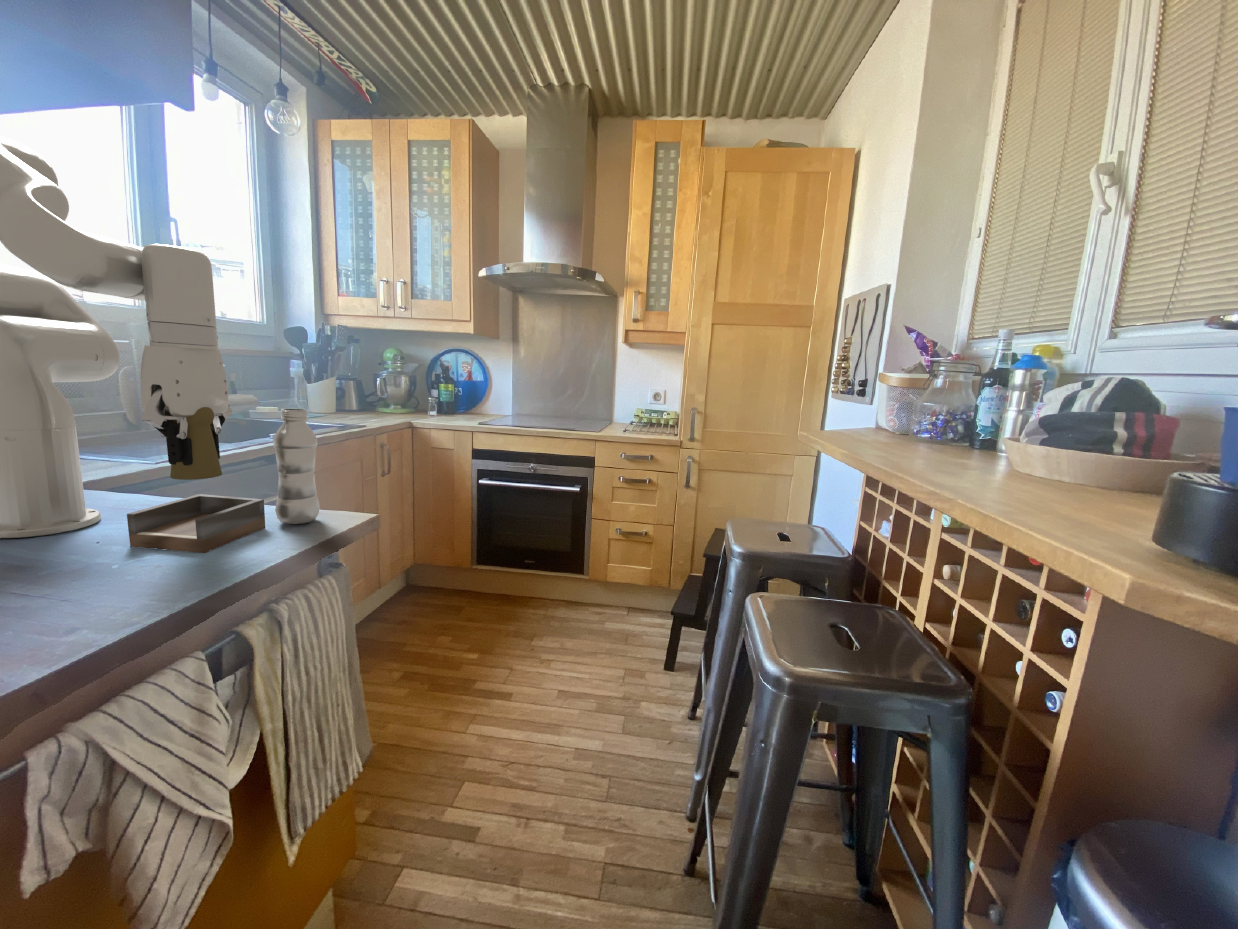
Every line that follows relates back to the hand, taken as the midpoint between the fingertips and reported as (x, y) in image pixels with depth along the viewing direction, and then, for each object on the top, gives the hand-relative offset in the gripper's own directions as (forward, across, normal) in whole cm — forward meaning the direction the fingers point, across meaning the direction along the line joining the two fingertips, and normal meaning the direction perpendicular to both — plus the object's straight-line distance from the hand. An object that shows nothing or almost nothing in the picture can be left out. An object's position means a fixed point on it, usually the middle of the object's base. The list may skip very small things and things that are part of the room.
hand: (195, 460), depth 75 cm
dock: (+12, 0, 0) cm, 12 cm away
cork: (+2, 0, 0) cm, 2 cm away
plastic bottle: (+13, -10, +8) cm, 18 cm away
